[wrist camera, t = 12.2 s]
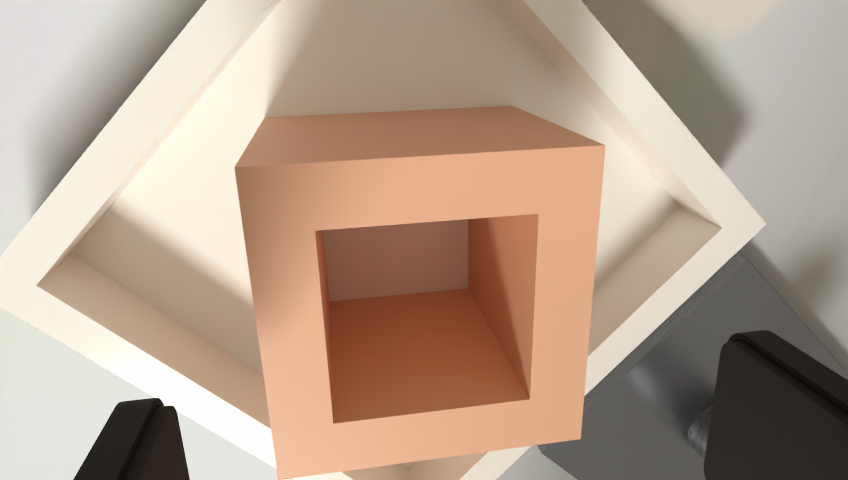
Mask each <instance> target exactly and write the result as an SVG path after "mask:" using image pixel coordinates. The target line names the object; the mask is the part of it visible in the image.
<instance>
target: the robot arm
mask: <svg viewBox="0 0 848 480" xmlns="http://www.w3.org/2000/svg"><path fill="white" fill-rule="evenodd" d="M704 475H705V478H706V480H848V380H847V379H845V378H844V377H842V376H841V375H839V374H837V373H836V372H834V371H833V370H831V369H830V368H828V367H826V366H825V365H823V364H822V363H820V362H819V361H817V360H815V359H814V358H812V357H811V356H809V355H808V354H806V353H804V352H803V351H801V350H800V349H798V348H796V347H795V346H793V345H792V344H790V343H789V342H787V341H785V340H784V339H782V338H781V337H779V336H778V335H776V334H774V333H773V332H771V331H768V330H759V331H750V332H741V333H735V334H733V335H731V337H730V338H729V339H728V342H727V343H725V344H724V345H723V346H722V348H721V351H720V358H719V365H718V372H717V378H716V385H715V392H714V399H713V405H712V412H711V419H710V426H709V433H708V439H707V446H706V453H705V460H704ZM74 480H190V479H189V474H188V468H187V463H186V458H185V453H184V448H183V442H182V437H181V432H180V427H179V422H178V416H177V412H176V409H175V407H174V406H164V405H163V402H162V400H161V399H160V398H151V399H142V400H133V401H124V402H120V403H118V404H117V406H116V407H115V409H114V410H113V412H112V414H111V416H110V417H109V419H108V421H107V423H106V424H105V426H104V428H103V429H102V431H101V433H100V435H99V436H98V438H97V440H96V442H95V443H94V445H93V447H92V448H91V450H90V452H89V454H88V455H87V457H86V459H85V461H84V462H83V464H82V466H81V467H80V469H79V471H78V473H77V474H76V476H75V478H74Z"/></svg>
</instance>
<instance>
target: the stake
mask: <svg viewBox="0 0 848 480" xmlns="http://www.w3.org/2000/svg"><path fill="white" fill-rule="evenodd" d="M759 330H768V331H771V332H773V333H774V334H776V335H778V336H779V337H781V338H782V339H784V340H785V341H787V342H789V343H790V344H792V345H793V346H795V347H796V348H798V349H800V350H801V351H803V352H804V353H806V354H808V355H809V356H811V357H812V358H814V359H815V360H817V361H819V362H820V363H822V364H823V365H825V366H826V367H828V368H830V369H831V370H833V371H834V372H836V373H837V374H839V375H841V376H842V377H844V378H845V379H847V380H848V373H847V372H846V371H845V370H844V369H843V368H842V366H841V365H840V364H839V363H838V362H837V361H836V360H835V359H834V357H833V356H832V355H831V354H830V353H829V352H828V351H827V349H826V348H825V347H824V346H823V345H822V344H821V343H820V341H819V340H818V339H817V338H816V337H815V336H814V335H813V333H812V332H811V331H810V330H809V329H808V328H807V327H806V325H805V324H804V323H803V322H802V321H801V320H800V319H799V317H798V316H797V315H796V314H795V313H794V312H793V311H792V309H791V308H790V307H789V306H788V305H787V304H786V303H785V301H784V300H783V299H782V298H781V297H780V296H779V295H778V293H777V292H776V291H775V290H774V289H773V288H772V287H771V286H770V284H769V283H768V282H767V281H766V280H765V279H764V278H763V276H762V275H761V274H760V273H759V272H758V271H757V270H756V268H755V267H754V266H753V265H752V264H751V263H750V262H749V260H748V259H746V258H744V257H743V256H741V255H739V254H737V253H736V254H735V255H733V256H732V257H731V258H730V259H729V260H728V261H727V262H726V263H725V264H724V265H723V266H722V267H721V268H720V269H719V270H718V271H717V272H715V273H714V274H713V275H712V276H711V277H710V278H709V279H708V280H707V281H706V282H705V283H704V284H703V285H702V286H701V287H700V288H699V289H697V290H696V291H695V292H694V293H693V294H692V295H691V296H690V297H689V298H688V299H687V300H686V301H685V302H684V303H683V304H682V305H681V306H679V307H678V308H677V309H676V310H675V311H674V312H673V313H672V314H671V315H670V316H669V317H668V318H667V319H666V320H665V321H664V322H663V323H661V324H660V325H659V326H658V327H657V328H656V329H655V330H654V331H653V332H652V333H651V334H650V335H649V336H648V337H647V338H646V339H645V340H643V341H642V342H641V343H640V344H639V345H638V346H637V347H636V348H635V349H634V350H633V351H632V352H631V353H630V354H629V355H628V356H627V357H625V358H624V359H623V360H622V361H621V362H620V363H619V364H618V365H617V366H616V367H615V368H614V369H613V370H612V371H611V372H610V373H609V374H607V375H606V376H605V377H604V378H603V379H602V380H601V381H600V382H599V383H598V384H597V385H596V386H595V387H594V388H593V389H592V390H590V391H589V392H588V393H587V394H586V395H585V396H584V405H583V417H582V429H581V439H577V440H570V441H563V442H555V443H548V444H541V445H538V447H539V449H540V451H541V453H543V454H544V455H545V456H547V457H548V458H549V459H551V460H552V461H553V462H555V463H556V464H557V465H559V466H560V467H562V468H563V469H564V470H566V471H567V472H568V473H570V474H571V475H572V476H574V477H575V478H576V479H578V480H706V478H705V475H704V460H705V453H706V446H707V439H708V433H709V426H710V419H711V412H712V405H713V399H714V392H715V385H716V378H717V372H718V365H719V358H720V351H721V348H722V346H723V345H724V344H725V343H727V342H728V339H729V338H730V337H731V335H733V334H735V333H741V332H750V331H759Z"/></svg>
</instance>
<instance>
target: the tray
mask: <svg viewBox="0 0 848 480" xmlns="http://www.w3.org/2000/svg"><path fill="white" fill-rule="evenodd" d="M494 106H514V107H517V108H519V109H521V110H524V111H526V112H528V113H531V114H533V115H536V116H538V117H540V118H543V119H545V120H547V121H550V122H552V123H554V124H557V125H559V126H561V127H564V128H566V129H568V130H571V131H573V132H576V133H578V134H580V135H583V136H585V137H587V138H590V139H592V140H594V141H597V142H599V143H601V144H604V145H606V146H605V158H604V169H603V181H602V193H601V205H600V217H599V228H598V240H597V252H596V264H595V276H594V287H593V299H592V311H591V323H590V335H589V346H588V358H587V370H586V382H585V394H584V396H585V395H586V394H587V393H588V392H589V391H590V390H592V389H593V388H594V387H595V386H596V385H597V384H598V383H599V382H600V381H601V380H602V379H603V378H604V377H605V376H606V375H607V374H609V373H610V372H611V371H612V370H613V369H614V368H615V367H616V366H617V365H618V364H619V363H620V362H621V361H622V360H623V359H624V358H625V357H627V356H628V355H629V354H630V353H631V352H632V351H633V350H634V349H635V348H636V347H637V346H638V345H639V344H640V343H641V342H642V341H643V340H645V339H646V338H647V337H648V336H649V335H650V334H651V333H652V332H653V331H654V330H655V329H656V328H657V327H658V326H659V325H660V324H661V323H663V322H664V321H665V320H666V319H667V318H668V317H669V316H670V315H671V314H672V313H673V312H674V311H675V310H676V309H677V308H678V307H679V306H681V305H682V304H683V303H684V302H685V301H686V300H687V299H688V298H689V297H690V296H691V295H692V294H693V293H694V292H695V291H696V290H697V289H699V288H700V287H701V286H702V285H703V284H704V283H705V282H706V281H707V280H708V279H709V278H710V277H711V276H712V275H713V274H714V273H715V272H717V271H718V270H719V269H720V268H721V267H722V266H723V265H724V264H725V263H726V262H727V261H728V260H729V259H730V258H731V257H732V256H733V255H735V254H736V253H737V252H738V251H739V250H740V249H741V248H742V247H743V246H744V245H745V244H746V243H747V242H748V241H749V240H750V239H752V238H753V237H754V236H755V235H756V234H757V233H758V232H759V231H760V230H761V229H762V228H763V227H764V226H765V225H766V223H765V222H764V220H763V219H762V218H761V217H760V216H759V214H758V213H757V212H756V211H755V210H754V208H753V207H752V206H751V205H750V204H749V202H748V201H747V200H746V199H745V198H744V196H743V195H742V194H741V193H740V192H739V190H738V189H737V188H736V187H735V185H734V184H733V183H732V182H731V181H730V179H729V178H728V177H727V176H726V175H725V173H724V172H723V171H722V170H721V169H720V167H719V166H718V165H717V164H716V163H715V161H714V160H713V159H712V158H711V157H710V155H709V154H708V153H707V152H706V150H705V149H704V148H703V147H702V146H701V144H700V143H699V142H698V141H697V140H696V138H695V137H694V136H693V135H692V134H691V132H690V131H689V130H688V129H687V128H686V126H685V125H684V124H683V123H682V121H681V120H680V119H679V118H678V117H677V115H676V114H675V113H674V112H673V111H672V109H671V108H670V107H669V106H668V105H667V103H666V102H665V101H664V100H663V99H662V97H661V96H660V95H659V94H658V93H657V91H656V90H655V89H654V88H653V86H652V85H651V84H650V83H649V82H648V80H647V79H646V78H645V77H644V76H643V74H642V73H641V72H640V71H639V70H638V68H637V67H636V66H635V65H634V64H633V62H632V61H631V60H630V59H629V58H628V56H627V55H626V54H625V53H624V51H623V50H622V49H621V48H620V47H619V45H618V44H617V43H616V42H615V41H614V39H613V38H612V37H611V36H610V35H609V33H608V32H607V31H606V30H605V29H604V27H603V26H602V25H601V24H600V22H599V21H598V20H597V19H596V18H595V16H594V15H593V14H592V13H591V12H590V10H589V9H588V8H587V7H586V6H585V4H584V3H583V2H582V1H581V0H206V2H205V3H204V4H203V5H202V7H201V8H200V9H199V10H198V12H197V13H196V14H195V15H194V17H193V18H192V19H191V20H190V22H189V23H188V24H187V25H186V26H185V28H184V29H183V30H182V31H181V33H180V34H179V35H178V36H177V38H176V39H175V40H174V41H173V43H172V44H171V45H170V46H169V48H168V49H167V50H166V51H165V53H164V54H163V55H162V56H161V58H160V59H159V60H158V61H157V63H156V64H155V65H154V66H153V67H152V69H151V70H150V71H149V72H148V74H147V75H146V76H145V77H144V79H143V80H142V81H141V82H140V84H139V85H138V86H137V87H136V89H135V90H134V91H133V92H132V94H131V95H130V96H129V97H128V99H127V100H126V101H125V102H124V103H123V105H122V106H121V107H120V108H119V110H118V111H117V112H116V113H115V115H114V116H113V117H112V118H111V120H110V121H109V122H108V123H107V125H106V126H105V127H104V128H103V130H102V131H101V132H100V133H99V135H98V136H97V137H96V138H95V139H94V141H93V142H92V143H91V144H90V146H89V147H88V148H87V149H86V151H85V152H84V153H83V154H82V156H81V157H80V158H79V159H78V161H77V162H76V163H75V164H74V166H73V167H72V168H71V169H70V171H69V172H68V173H67V174H66V175H65V177H64V178H63V179H62V180H61V182H60V183H59V184H58V185H57V187H56V188H55V189H54V190H53V192H52V193H51V194H50V195H49V197H48V198H47V199H46V200H45V202H44V203H43V204H42V205H41V207H40V208H39V209H38V210H37V212H36V213H35V214H34V215H33V216H32V218H31V219H30V220H29V221H28V223H27V224H26V225H25V226H24V228H23V229H22V230H21V231H20V233H19V234H18V235H17V236H16V238H15V239H14V240H13V241H12V243H11V244H10V245H9V246H8V248H7V249H6V250H5V251H4V252H3V254H2V255H1V256H0V307H1V308H3V309H5V310H6V311H8V312H10V313H11V314H13V315H15V316H16V317H18V318H20V319H22V320H23V321H25V322H27V323H28V324H30V325H32V326H34V327H35V328H37V329H39V330H40V331H42V332H44V333H46V334H47V335H49V336H51V337H52V338H54V339H56V340H58V341H59V342H61V343H63V344H64V345H66V346H68V347H70V348H71V349H73V350H75V351H76V352H78V353H80V354H81V355H83V356H85V357H87V358H88V359H90V360H92V361H93V362H95V363H97V364H99V365H100V366H102V367H104V368H105V369H107V370H109V371H111V372H112V373H114V374H116V375H117V376H119V377H121V378H123V379H124V380H126V381H128V382H129V383H131V384H133V385H134V386H136V387H138V388H140V389H141V390H143V391H145V392H146V393H148V394H150V395H152V396H153V397H155V398H160V399H161V400H162V402H164V403H165V404H167V405H169V406H174V407H175V409H176V410H177V411H179V412H181V413H182V414H184V415H186V416H187V417H189V418H191V419H193V420H194V421H196V422H198V423H199V424H201V425H203V426H205V427H206V428H208V429H210V430H211V431H213V432H215V433H217V434H218V435H220V436H222V437H223V438H225V439H227V440H229V441H230V442H232V443H234V444H235V445H237V446H239V447H240V448H242V449H244V450H246V451H247V452H249V453H251V454H252V455H254V456H256V457H258V458H259V459H261V460H263V461H264V462H266V463H268V464H270V465H271V466H273V467H275V468H276V461H275V454H274V447H273V439H272V432H271V425H270V418H269V411H268V404H267V397H266V390H265V383H264V375H263V368H262V361H261V354H260V347H259V340H258V333H257V326H256V319H255V311H254V304H253V297H252V290H251V283H250V276H249V269H248V262H247V255H246V247H245V240H244V233H243V226H242V219H241V212H240V205H239V198H238V191H237V183H236V176H235V169H234V167H235V165H236V164H237V162H238V160H239V159H240V157H241V155H242V154H243V152H244V150H245V149H246V147H247V146H248V144H249V142H250V141H251V139H252V137H253V136H254V134H255V132H256V131H257V129H258V127H259V126H260V124H261V122H262V121H263V119H264V118H265V117H286V116H307V115H328V114H348V113H369V112H390V111H411V110H431V109H452V108H473V107H494ZM323 234H324V246H325V257H326V268H327V279H328V290H329V301H338V300H349V299H359V298H370V297H381V296H391V295H402V294H413V293H423V292H434V291H445V290H455V289H466V288H468V219H463V220H450V221H436V222H423V223H410V224H397V225H384V226H371V227H358V228H345V229H332V230H323ZM530 447H531V446H526V447H519V448H511V449H504V450H496V451H489V452H482V453H474V454H467V455H460V456H452V457H445V458H438V459H430V460H423V461H416V462H408V463H401V464H394V465H386V466H379V467H371V468H364V469H357V470H349V471H342V472H335V473H327V474H320V475H313V476H305V477H298V478H293V479H295V480H496V479H497V478H498V477H499V476H500V475H502V474H503V473H504V472H505V471H506V470H507V469H508V468H509V467H510V466H511V465H512V464H513V463H514V462H515V461H516V460H517V459H518V458H520V457H521V456H522V455H523V454H524V453H525V452H526V451H527V450H528V449H529V448H530ZM276 469H277V468H276Z"/></svg>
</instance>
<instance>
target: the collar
mask: <svg viewBox="0 0 848 480" xmlns="http://www.w3.org/2000/svg"><path fill="white" fill-rule="evenodd" d="M605 146H606V145H604V144H601V143H599V142H597V141H594V140H592V139H590V138H587V137H585V136H583V135H580V134H578V133H576V132H573V131H571V130H568V129H566V128H564V127H561V126H559V125H557V124H554V123H552V122H550V121H547V120H545V119H543V118H540V117H538V116H536V115H533V114H531V113H528V112H526V111H524V110H521V109H519V108H517V107H514V106H494V107H473V108H452V109H431V110H411V111H390V112H369V113H348V114H328V115H307V116H286V117H265V118H264V119H263V121H262V122H261V124H260V126H259V127H258V129H257V131H256V132H255V134H254V136H253V137H252V139H251V141H250V142H249V144H248V146H247V147H246V149H245V150H244V152H243V154H242V155H241V157H240V159H239V160H238V162H237V164H236V165H235V167H234V169H235V176H236V183H237V191H238V198H239V205H240V212H241V219H242V226H243V233H244V240H245V247H246V255H247V262H248V269H249V276H250V283H251V290H252V297H253V304H254V311H255V319H256V326H257V333H258V340H259V347H260V354H261V361H262V368H263V375H264V383H265V390H266V397H267V404H268V411H269V418H270V425H271V432H272V439H273V447H274V454H275V461H276V468H277V475H278V480H283V479H291V478H298V477H305V476H313V475H320V474H327V473H335V472H342V471H349V470H357V469H364V468H371V467H379V466H386V465H394V464H401V463H408V462H416V461H423V460H430V459H438V458H445V457H452V456H460V455H467V454H474V453H482V452H489V451H496V450H504V449H511V448H519V447H526V446H533V445H541V444H548V443H555V442H563V441H570V440H577V439H581V429H582V417H583V405H584V394H585V382H586V370H587V358H588V346H589V335H590V323H591V311H592V299H593V287H594V276H595V264H596V252H597V240H598V228H599V217H600V205H601V193H602V181H603V169H604V158H605ZM463 219H468V288H466V289H455V290H445V291H434V292H423V293H413V294H402V295H391V296H381V297H370V298H359V299H349V300H338V301H329V290H328V279H327V268H326V257H325V246H324V234H323V230H332V229H345V228H358V227H371V226H384V225H397V224H410V223H423V222H436V221H450V220H463Z"/></svg>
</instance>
